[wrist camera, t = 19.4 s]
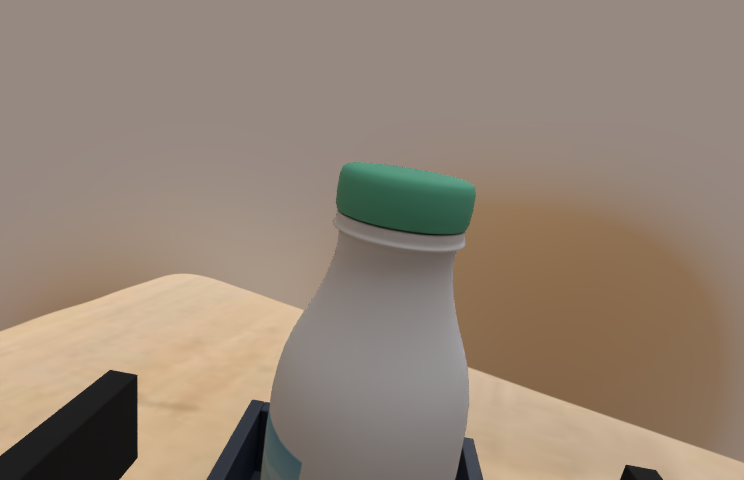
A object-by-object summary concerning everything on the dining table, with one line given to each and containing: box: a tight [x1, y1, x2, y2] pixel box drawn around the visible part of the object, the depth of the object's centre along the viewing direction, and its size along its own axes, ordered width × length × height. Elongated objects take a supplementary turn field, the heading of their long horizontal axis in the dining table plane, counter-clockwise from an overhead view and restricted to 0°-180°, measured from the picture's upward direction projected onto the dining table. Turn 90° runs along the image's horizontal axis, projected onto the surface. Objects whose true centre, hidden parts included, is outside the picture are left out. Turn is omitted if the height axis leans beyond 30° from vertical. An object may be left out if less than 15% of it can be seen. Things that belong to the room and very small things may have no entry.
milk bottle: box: [260, 162, 476, 480], centre depth 16 cm, size 8×8×20 cm
